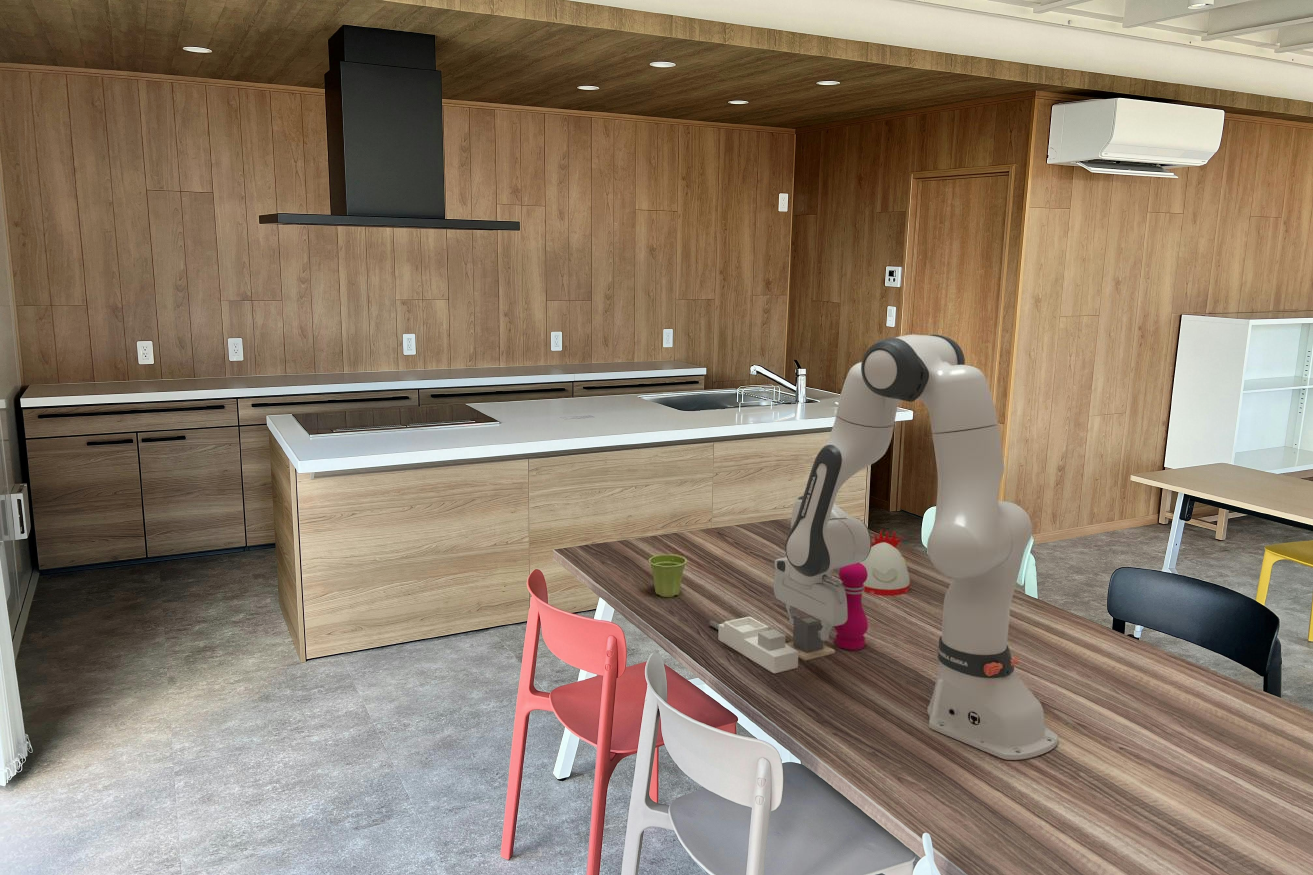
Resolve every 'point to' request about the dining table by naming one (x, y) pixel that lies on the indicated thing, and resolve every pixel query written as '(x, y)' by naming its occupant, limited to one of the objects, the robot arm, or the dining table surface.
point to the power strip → (750, 645)
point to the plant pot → (667, 574)
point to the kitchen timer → (886, 568)
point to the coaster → (811, 655)
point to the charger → (807, 634)
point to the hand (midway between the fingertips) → (808, 631)
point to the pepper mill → (853, 608)
